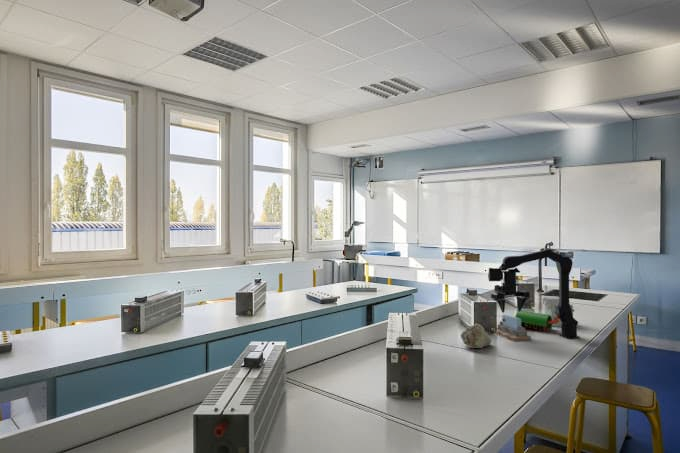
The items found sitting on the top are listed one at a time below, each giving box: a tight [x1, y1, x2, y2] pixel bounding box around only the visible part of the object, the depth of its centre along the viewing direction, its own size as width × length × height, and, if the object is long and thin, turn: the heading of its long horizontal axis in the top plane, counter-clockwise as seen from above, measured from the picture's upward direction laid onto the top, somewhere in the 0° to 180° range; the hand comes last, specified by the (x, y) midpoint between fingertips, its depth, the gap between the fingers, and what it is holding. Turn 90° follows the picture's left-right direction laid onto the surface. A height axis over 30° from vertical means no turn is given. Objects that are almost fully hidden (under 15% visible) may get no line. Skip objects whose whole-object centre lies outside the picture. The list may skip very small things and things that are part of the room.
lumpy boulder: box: [460, 323, 492, 349], centre depth 188 cm, size 11×11×15 cm
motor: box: [515, 310, 559, 332], centre depth 215 cm, size 10×9×20 cm
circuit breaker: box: [542, 295, 575, 327], centre depth 224 cm, size 8×14×15 cm, turn 89°
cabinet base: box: [496, 320, 532, 341], centre depth 205 cm, size 20×10×6 cm, turn 12°
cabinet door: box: [501, 313, 521, 331], centre depth 205 cm, size 12×3×8 cm, turn 11°
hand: (511, 312), depth 205 cm, fingers open, 9 cm apart
